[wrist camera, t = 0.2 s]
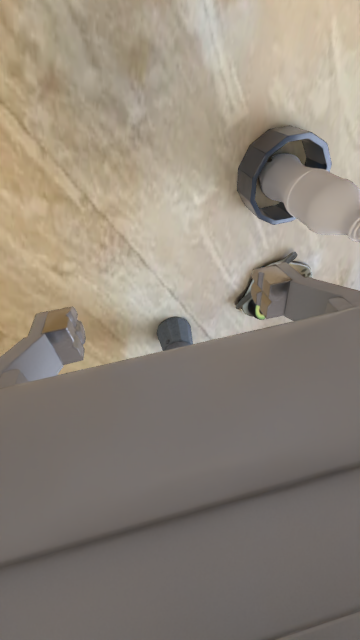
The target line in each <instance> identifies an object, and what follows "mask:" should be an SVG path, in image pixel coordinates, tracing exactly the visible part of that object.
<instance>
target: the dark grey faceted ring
mask: <svg viewBox="0 0 360 640" xmlns="http://www.w3.org/2000/svg"><path fill="white" fill-rule="evenodd" d="M297 140H302V143H303V146H304V150H305V153H306V157H307V158H306V162H305V166H306V167H310V168H316V169H325V170H327V171H329V172H330V169H331V165H332V163H331V158H330V154H329V149H328V145H327V143H326V142H325V141H324V140H322V139H321V138H319V137H318V136H316V135H315V134H313V133H312V132H309V131H306V130H303V129H300V128H296V127H293V126H284V127H278V128H272V129H269V130H268V131H266V132H265V133H264V134H263V135H262V136H261V137H259V138H258V139H257V140H256V141H255V142H253V143H252V144H251V145H250V146H249V148H248V150H247V152H246V154H245V156H244V158H243V160H242V162H241V164H240V166H239V168H238V182H237V191H238V193H239V195H240V197H241V199H242V201H243V203H244V205H245V206H246V207H247V208H248V209H249V210H250V211H251V212H252V213H253V214H254V215H256V216H257V217H258V218H259V219H261V220H263V221H266V222H268V223H270V224H273V225H275V224H280V223H285V222H290V221H293V220H295V219H296V218H295V217H293V216H291V215H290V214H289V213H288V211H287V210H286V208H285V206H284V203H283V202H280V203H279V204H277V205H274V206H269V207H264V208H260V207H258V205H257V203H256V201H255V193H256V184H257V178H258V176H259V174H260V173H261V171H262V169H263V167H264V165H265V164H266V162H267V160H268V158H269V157H270V156H271V155H272V154H274V153H275V152H276V151H277V150H279V149H280V148H281V147H282V146H284V145H285V144H286V143H287V142H291V141H297Z"/></svg>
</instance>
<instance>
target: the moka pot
mask: <svg viewBox="0 0 360 640" xmlns="http://www.w3.org/2000/svg"><path fill="white" fill-rule="evenodd" d="M157 336H158V339H159V341H160V344H161V347H162V350H163V351H166V350H170V349H175V348H179V347H183V346H188V345H192V344H193V342H192V334H191V327H190V325H189V323H188V322H187V320H185V319H182V318H175V317H174V318H170V319H167V320H165V321H163V322H162V323H161V324H160V325H159V327H158V330H157Z"/></svg>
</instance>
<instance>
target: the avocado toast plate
mask: <svg viewBox="0 0 360 640" xmlns="http://www.w3.org/2000/svg"><path fill="white" fill-rule="evenodd" d="M296 257H297V253H296V252H292V253H291V254H289V255H288V256H287V257H286V258H285V259H283V260H281V261H279V262H275V263H272V264H270V265H274V264H278V263H282V262H286V263H288V264H289V265H290V266H291V267H293V268H294V269H295V270H296V271H297V272H298V273H300V274H301V275H302V276H303V277H304V278H307V277H309V278H312V272H311V269H310V267H309V266H307V265H304V264H300V263H294V262H292V261H293V260H294V259H295V258H296ZM270 265H268V266H270ZM253 283H254V280H252V282H251V284H250V286H249V288H248V290H247V292H246V294H245V295H244V297H243V298H242V299H241V300H240V301H239V303H238V304H237V305H236V309H239V308H241V309H242V310H243V312H244V313H245V314H247V315H249V316H254V317H255V318H257V319H260V320H263V319H265V316H264V315H263V314H262V312H261V311H260V306H258V305H256V304H255V303H254V301H253V299H252V296H251V285H252V284H253ZM278 317H279V316H278Z"/></svg>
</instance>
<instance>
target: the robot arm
mask: <svg viewBox="0 0 360 640" xmlns="http://www.w3.org/2000/svg"><path fill="white" fill-rule="evenodd" d="M252 279H253V280H254V283H253V284H252V285H251V296H252V299H253V301H254V303H255V304H256V305H258V306H260V311H261V312H262V314H263V315H264V316H265V318H266V319H268V318H273V317H278V316H283V315H284V316H285V317H287V318H289V319H291V320H293V322H289V323H284V324H280V325H275V326H271V327H267V328H262V329H258V330H254V331H249V332H245V333H240V334H236V335H232V336H227V337H223V338H218V339H214V340H210V341H205V342H201V343H197V344H192V345H188V346H183V347H179V348H175V349H170V350H166V351H161V352H157V353H153V354H148V355H144V356H139V357H135V358H131V359H126V360H122V361H118V362H113V363H109V364H104V365H100V366H96V367H91V368H87V369H82V370H78V371H74V372H69V373H65V374H61V375H57V374H58V373H59V371H60V370H61V369H62V367H63V365H65V364H69V363H73V362H77V361H81V360H83V358H84V347H83V344H84V343H85V339H86V337H85V330H84V327H83V325H82V322H80V321H79V320H77V316H78V313H77V311H76V309H75V308H74V307H73V306H72V307H67V308H62V309H56V310H51V311H45V312H41V313H37V314H36V315H35V318H34V321H33V323H32V326H31V329H30V331H29V334H28V337H26V338H23V339H22V340H21V341H19V342H18V343H17V344H16V345H14V346H13V347H12V348H11V349H10V350H8V351H7V352H6V353H5V354H3V355H2V356H1V357H0V640H360V291H358V290H354V289H351V288H347V287H343V286H339V285H335V284H332V283H328V282H324V281H320V280H316V279H313V278H309V277H307V278H304V277H303V276H302V275H301V274H300V273H298V272H297V271H296V270H295V269H294V268H293V267H291V266H290V265H289V264H288V263H286V262H282V263H278V264H274V265H270V266H266V267H262V268H257V269H253V271H252Z"/></svg>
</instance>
